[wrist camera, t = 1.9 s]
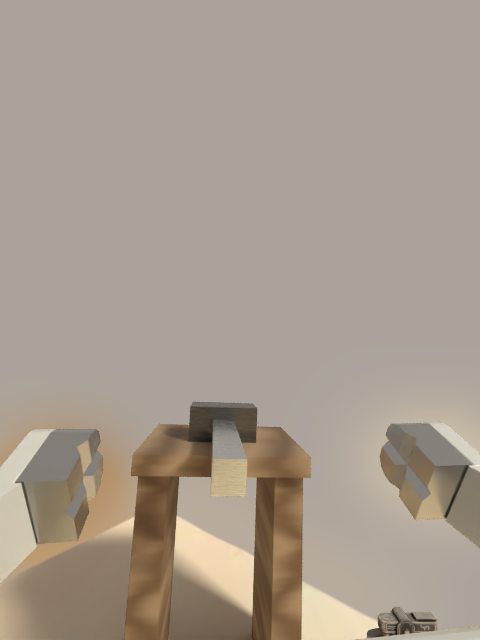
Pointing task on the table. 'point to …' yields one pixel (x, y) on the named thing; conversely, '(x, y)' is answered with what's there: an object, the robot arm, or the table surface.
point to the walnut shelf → (270, 529)
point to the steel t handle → (225, 442)
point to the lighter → (403, 623)
